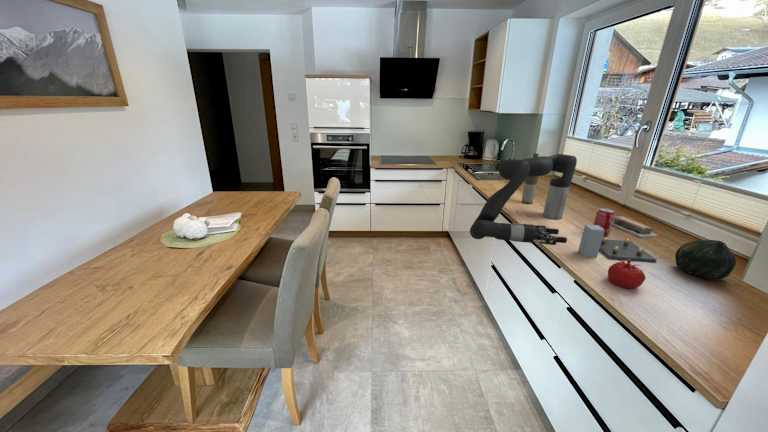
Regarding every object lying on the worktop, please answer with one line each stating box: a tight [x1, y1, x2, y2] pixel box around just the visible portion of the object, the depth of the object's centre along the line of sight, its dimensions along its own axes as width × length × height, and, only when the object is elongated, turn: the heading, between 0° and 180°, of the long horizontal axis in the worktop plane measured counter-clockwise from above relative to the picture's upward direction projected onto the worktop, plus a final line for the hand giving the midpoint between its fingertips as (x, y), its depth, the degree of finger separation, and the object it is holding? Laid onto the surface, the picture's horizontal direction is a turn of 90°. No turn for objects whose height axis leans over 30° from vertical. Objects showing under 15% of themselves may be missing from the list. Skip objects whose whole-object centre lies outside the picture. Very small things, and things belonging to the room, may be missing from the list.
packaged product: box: [612, 215, 658, 239], centre depth 150 cm, size 18×5×10 cm
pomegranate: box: [607, 259, 647, 289], centre depth 104 cm, size 10×10×9 cm
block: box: [577, 224, 605, 258], centre depth 124 cm, size 5×5×12 cm
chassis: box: [599, 236, 658, 263], centre depth 128 cm, size 17×17×4 cm
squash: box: [674, 239, 737, 281], centre depth 110 cm, size 14×15×15 cm
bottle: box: [521, 152, 540, 205], centre depth 183 cm, size 7×7×30 cm
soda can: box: [593, 207, 616, 237], centre depth 144 cm, size 7×7×12 cm
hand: (562, 235), depth 125 cm, fingers open, 8 cm apart
